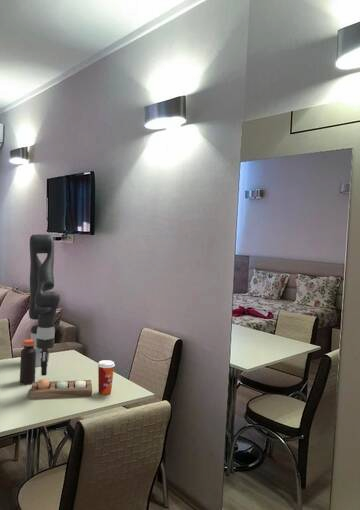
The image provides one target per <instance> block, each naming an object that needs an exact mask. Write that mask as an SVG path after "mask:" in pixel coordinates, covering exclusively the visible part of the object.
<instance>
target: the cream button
mask: <svg viewBox="0 0 360 510" xmlns="http://www.w3.org/2000/svg"><path fill="white" fill-rule="evenodd" d="M79 380H80V379H79ZM75 381H76V382H75V388H85V387H86V381H82V380H80V381H77V380H75Z"/></svg>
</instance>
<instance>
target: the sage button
mask: <svg viewBox="0 0 360 510" xmlns="http://www.w3.org/2000/svg"><path fill="white" fill-rule="evenodd" d="M58 381H59V382H57V387H56V389H58V388H68V382H66V381H67V380H58Z"/></svg>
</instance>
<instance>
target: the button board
mask: <svg viewBox="0 0 360 510" xmlns="http://www.w3.org/2000/svg"><path fill="white" fill-rule="evenodd" d="M59 381H60V380H51V381H50V380H49V389H38V381H35V382H33V383H32V384H31V388H30V391H29V400H36V399H37V400H38V399H39V400H40V398H41V400H42V398H43V399H59V398H60V399H61V398H62V399H63V398H64V399H65V397H67V398H85V397H88V398H89V397H93V386H92V379H84V380H82V381H86V387H85V388H75V382H76V381H80V379H79V380H77V379H76V380H65V381H66V382H68V388H58V389H56V387H57V382H59Z"/></svg>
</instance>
